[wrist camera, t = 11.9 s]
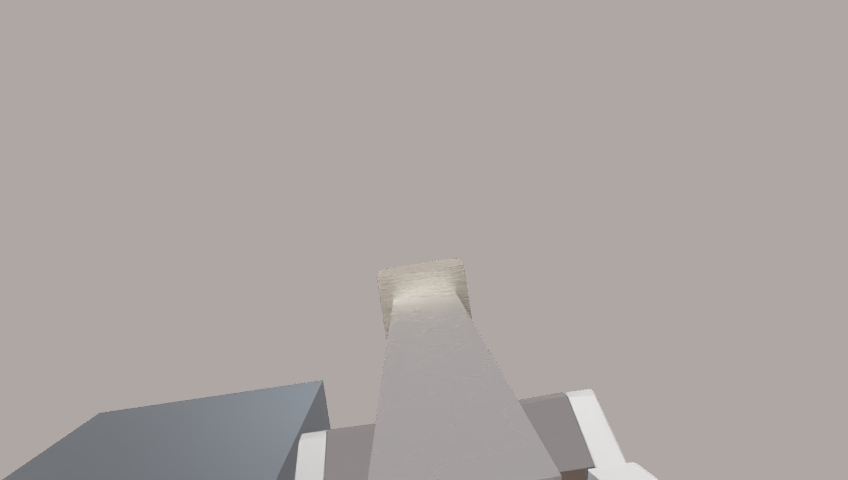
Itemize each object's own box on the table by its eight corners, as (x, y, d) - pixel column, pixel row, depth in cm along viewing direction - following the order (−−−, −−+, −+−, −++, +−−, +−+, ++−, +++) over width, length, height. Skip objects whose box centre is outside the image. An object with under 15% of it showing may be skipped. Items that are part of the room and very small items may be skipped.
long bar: (393, 337, 27) (381, 265, 27) (464, 326, 27) (454, 254, 27) (355, 702, 7) (310, 437, 7) (626, 657, 7) (589, 391, 7)
